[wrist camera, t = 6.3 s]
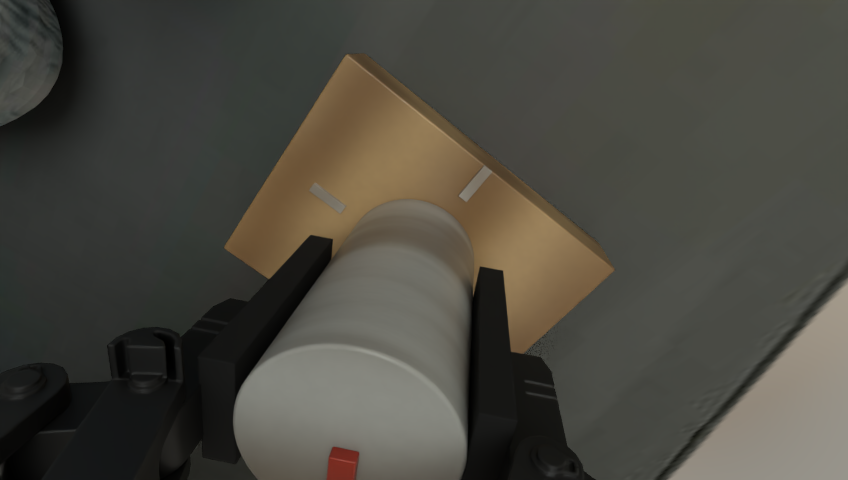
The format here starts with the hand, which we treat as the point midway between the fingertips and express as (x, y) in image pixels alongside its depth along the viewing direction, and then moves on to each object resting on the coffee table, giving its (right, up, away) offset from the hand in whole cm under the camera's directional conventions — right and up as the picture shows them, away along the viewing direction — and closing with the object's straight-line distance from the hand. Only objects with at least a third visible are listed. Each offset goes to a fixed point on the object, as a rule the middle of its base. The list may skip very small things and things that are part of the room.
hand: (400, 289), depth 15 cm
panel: (+1, +2, +5) cm, 5 cm away
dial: (0, +1, +2) cm, 2 cm away
